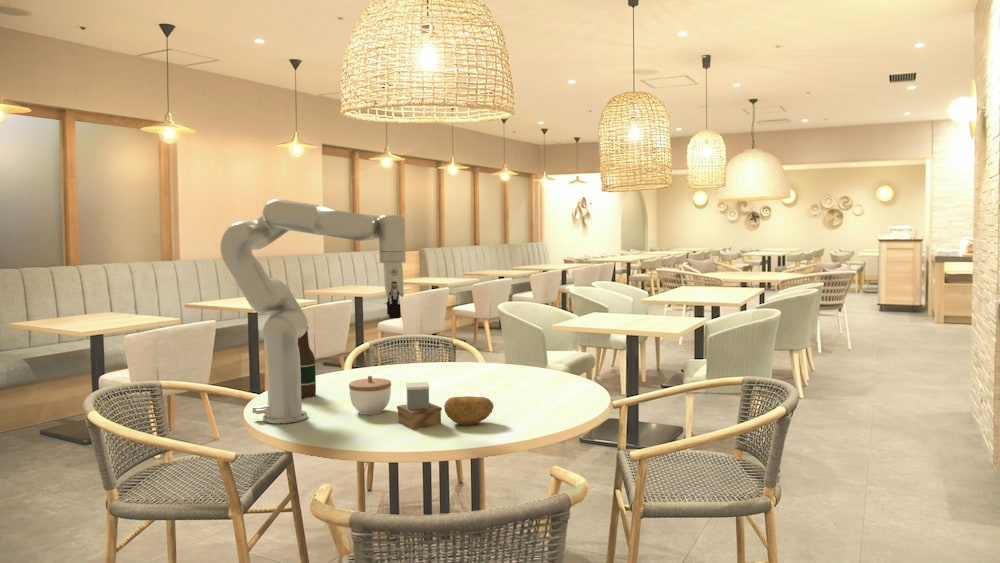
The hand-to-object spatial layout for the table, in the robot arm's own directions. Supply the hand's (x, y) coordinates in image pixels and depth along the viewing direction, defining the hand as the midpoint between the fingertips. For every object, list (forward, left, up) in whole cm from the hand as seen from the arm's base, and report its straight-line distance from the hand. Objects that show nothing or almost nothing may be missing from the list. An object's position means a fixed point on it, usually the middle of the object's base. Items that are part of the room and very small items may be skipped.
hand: (393, 316), depth 214 cm
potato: (+20, -11, -31) cm, 38 cm away
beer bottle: (-28, +37, -31) cm, 56 cm away
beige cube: (+6, -7, -25) cm, 27 cm away
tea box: (+6, -7, -31) cm, 32 cm away
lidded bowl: (-7, +10, -31) cm, 33 cm away
